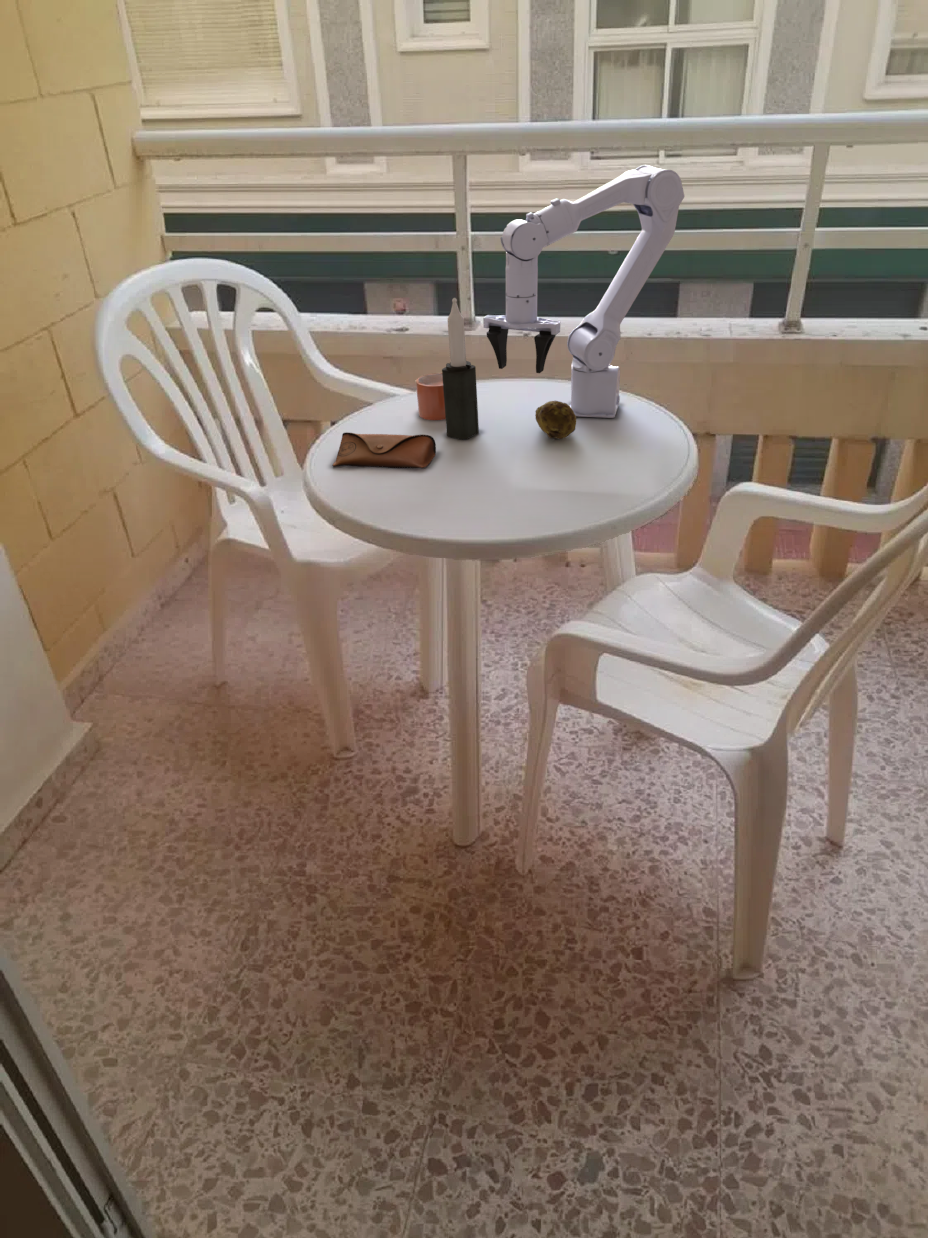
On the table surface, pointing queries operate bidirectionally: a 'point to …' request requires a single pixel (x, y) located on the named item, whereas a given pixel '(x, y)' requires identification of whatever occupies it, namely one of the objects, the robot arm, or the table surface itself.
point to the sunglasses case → (386, 450)
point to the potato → (556, 419)
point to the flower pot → (431, 396)
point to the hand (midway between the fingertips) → (521, 369)
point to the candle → (459, 383)
